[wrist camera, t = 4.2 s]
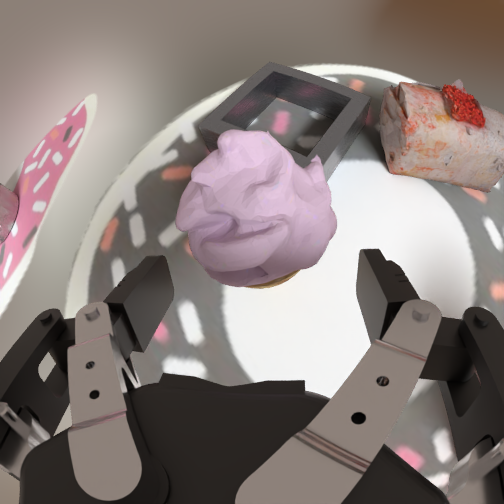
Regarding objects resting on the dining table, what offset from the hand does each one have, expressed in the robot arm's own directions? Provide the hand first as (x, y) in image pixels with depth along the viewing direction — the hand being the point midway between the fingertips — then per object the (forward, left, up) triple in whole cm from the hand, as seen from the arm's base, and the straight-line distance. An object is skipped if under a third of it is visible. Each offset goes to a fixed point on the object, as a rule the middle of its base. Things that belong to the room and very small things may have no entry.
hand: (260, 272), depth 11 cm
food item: (+6, +22, -12) cm, 25 cm away
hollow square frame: (-9, +15, -11) cm, 21 cm away
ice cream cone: (-2, +2, -11) cm, 12 cm away
